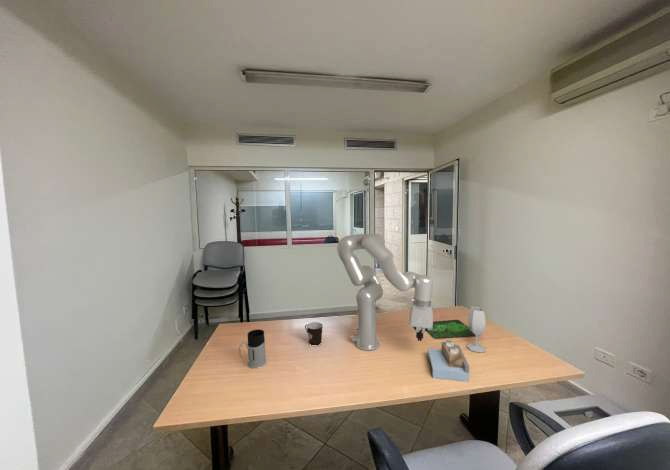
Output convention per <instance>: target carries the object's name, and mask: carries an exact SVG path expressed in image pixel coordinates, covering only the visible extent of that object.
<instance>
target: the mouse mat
mask: <svg viewBox="0 0 670 470" xmlns="http://www.w3.org/2000/svg"><path fill="white" fill-rule="evenodd" d="M432 328H433V329H432V330H427V331H425V332H426V333H428V335H429V336H430V337H431V338H432V339H435V340H445V339H457V338H470V337H475V334H474V333H473V332H472V331H471V330H470V329H469V325H466V324H465V323H464V322H463V321H462V320H460V319H449V320H437V321H434V320H433V327H432Z"/></svg>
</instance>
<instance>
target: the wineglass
mask: <svg viewBox="0 0 670 470" xmlns="http://www.w3.org/2000/svg"><path fill="white" fill-rule="evenodd" d="M467 322H468V323H467V324H468V325H467V326H468V327H469V329H470V330H471V331H472V332H473V333H474V334H475V336H474V342H469V343H467V344H466V347H467V349H468V350H470V351H471V352H475V353H486V347H485V346H484V345H483V344H481V343H479V336H480V335H481V334H484V333H485V330H486V325H487V324H486V323H487V319H486V312H485V309H484V308H482V307H478V306H471V307H470V310H469V313H468V321H467Z"/></svg>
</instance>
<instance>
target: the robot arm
mask: <svg viewBox="0 0 670 470" xmlns="http://www.w3.org/2000/svg"><path fill="white" fill-rule="evenodd" d="M336 249H337V251H336V252H337V254H338V255H337V256H338V257H339V259H340V260H341V263H342V264H343V266H344V269H345V271H346V274H347V275H348V277H349V278H348V279H349V280H350V281H351V283H352V285H354V287H355V286H356V287H360V286H363V285H364V286H363V287H362V288H360V289H359V290H357V292H356V296H355V298H356V303H357V312H358V315H357V317H358V318H357V319H358V321H357V322H358V323H357V325H358V328H357V329H358V330H357V331H358V334H356V335H353V334H351V335H350V340H351V341H352V342H355V346H356V347H357V349H359V350H363V351H375V350H378V349H379V347H380V341H379V340H378V339H377V309H376V306H375V303H376V302H377V301H379V300H380V299H382V297H383V295H384V291H383V290H384V289H383V287H382V285H381V282H380V281H379V279H378V276H377V274H376V272H375V271H374V269H373V268H372V267H371V266H370V265H366V264H365V265H362V264H361V262H360V260H359V258H358V256H357V255H356V254H355V253H354V251H357V250H364V251H366V252H367V253H368V255H370V257H372V259H374V261H375V262H376V263H377V264H378V265H379V266H380V268H381V271H382V273H383V275H384V277H385V279H386V280H387V281H388V283H390V284H391V285H392V286H393V287H394V288H395V289H396V290H398V291H400V292H404V293H405V292H408V291H410V290H411V289H412V288H414V295H413V298H410V302H412V303H411V305H410V312H409V322H408V327H410V328H412V329H413V330H415V333H416V334H415V338H416V339H417V342H419V341H420V342H422V339H424V334H425V332H426V331H427V330H432V329H433V328H432V327H433V322H434V309H433V307H434V306H433V305H432V295H433V294H432V293H433V278H432V277H431V276H429V275H426V274H419V273H416V272H413V271H406V272H403V273H402V272H401V271H400V269H398V267H396V265H395V263H394V254H393V252H392V251H391V250H389V248H387V247H386V246H385V238H384V237H383V235H381V234H378V233H359V234H358V233H357V234H351V235H350V234H349V235H345V236H344V237H342V238H341V239H340V240H339V241H338V243H337V248H336Z"/></svg>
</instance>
